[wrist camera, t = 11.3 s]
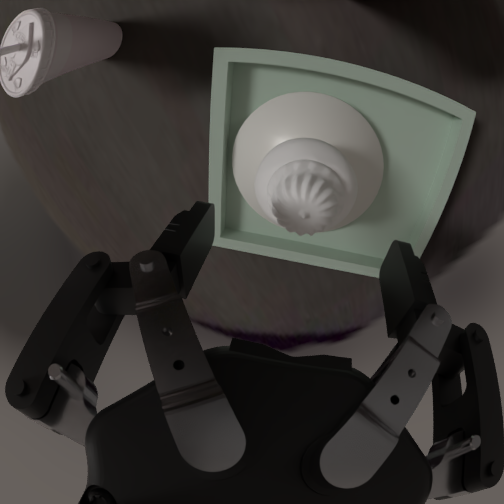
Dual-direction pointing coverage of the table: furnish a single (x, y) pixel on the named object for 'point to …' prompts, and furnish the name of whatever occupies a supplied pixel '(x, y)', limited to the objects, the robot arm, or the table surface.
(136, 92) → the table surface
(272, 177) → the muffin
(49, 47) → the smoothie
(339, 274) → the table surface
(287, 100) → the tray
